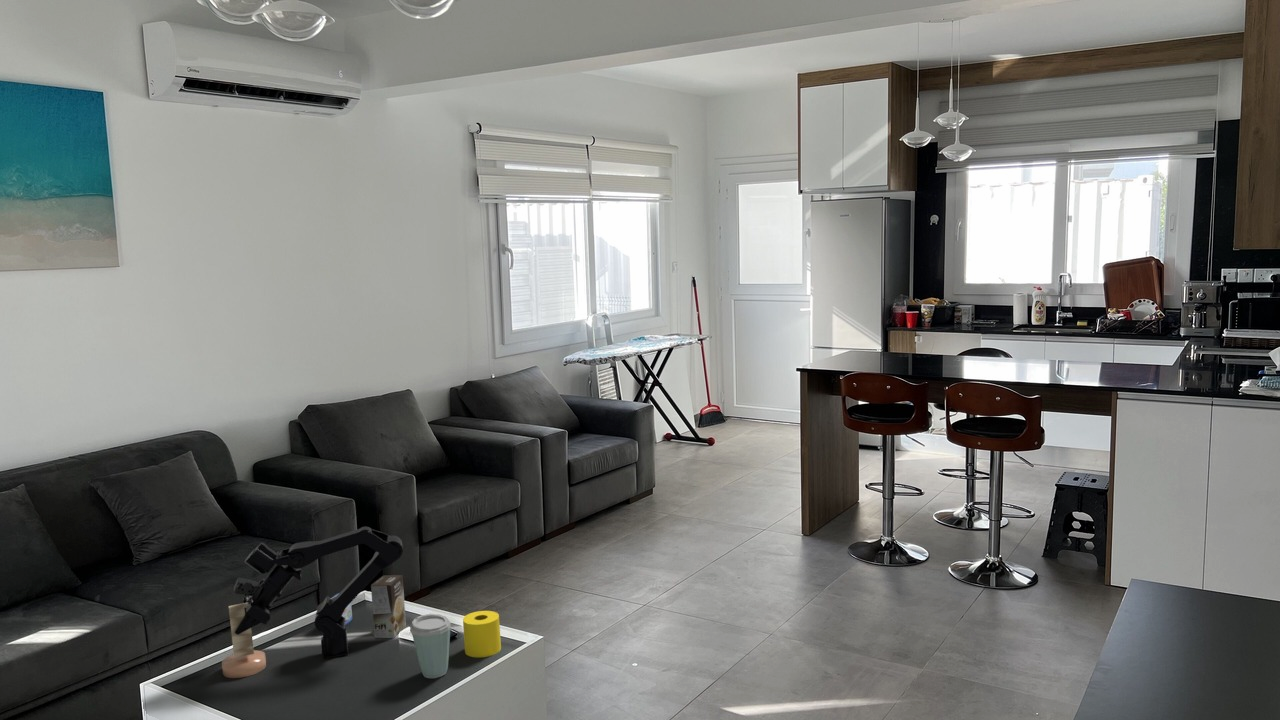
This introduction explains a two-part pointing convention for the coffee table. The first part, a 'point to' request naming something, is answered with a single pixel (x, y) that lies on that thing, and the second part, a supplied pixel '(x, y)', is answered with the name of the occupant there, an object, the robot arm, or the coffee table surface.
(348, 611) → the medicine box
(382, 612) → the coffee box
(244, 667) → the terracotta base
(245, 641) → the birch block
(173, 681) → the coffee table surface
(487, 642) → the yellow toilet paper roll
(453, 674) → the coffee table surface
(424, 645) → the disposable coffee cup
